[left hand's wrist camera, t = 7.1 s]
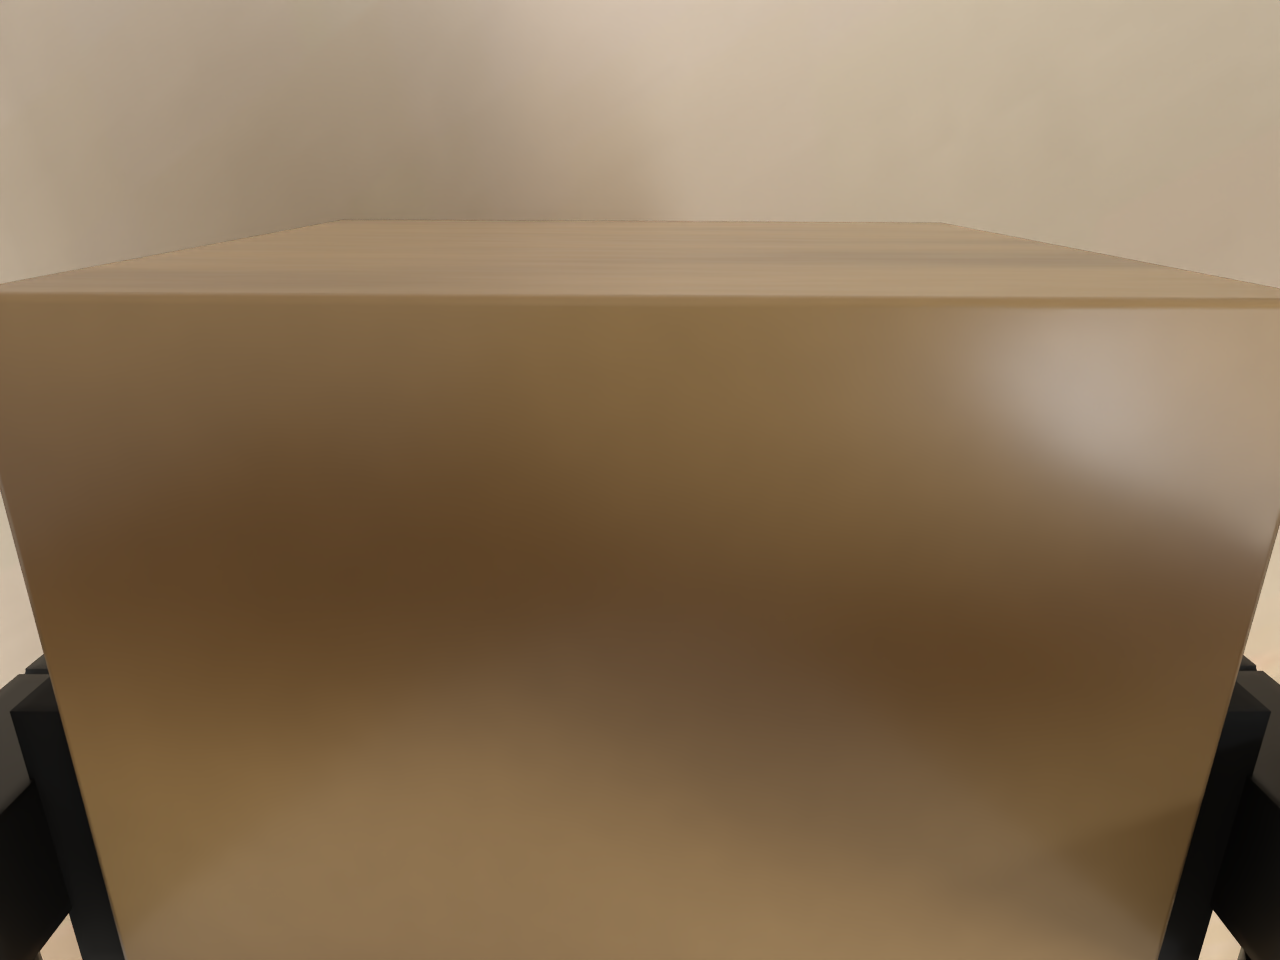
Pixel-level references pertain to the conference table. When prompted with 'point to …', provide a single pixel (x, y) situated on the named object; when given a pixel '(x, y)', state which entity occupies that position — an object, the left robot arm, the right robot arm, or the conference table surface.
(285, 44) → the conference table surface
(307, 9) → the conference table surface
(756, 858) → the wide beam
